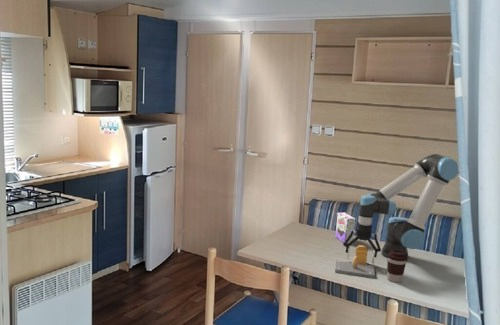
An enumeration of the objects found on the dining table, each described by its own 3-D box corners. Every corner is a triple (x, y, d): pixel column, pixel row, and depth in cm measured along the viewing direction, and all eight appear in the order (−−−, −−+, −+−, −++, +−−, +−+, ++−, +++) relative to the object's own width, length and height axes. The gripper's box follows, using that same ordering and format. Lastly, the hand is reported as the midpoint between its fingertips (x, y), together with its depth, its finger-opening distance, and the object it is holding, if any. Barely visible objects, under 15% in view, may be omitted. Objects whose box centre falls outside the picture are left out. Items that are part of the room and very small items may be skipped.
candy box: (334, 236, 314) (337, 212, 311) (342, 236, 315) (345, 212, 313) (344, 244, 301) (347, 218, 298) (353, 243, 302) (356, 218, 300)
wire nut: (365, 262, 272) (368, 245, 270) (366, 266, 266) (368, 249, 264) (354, 260, 273) (356, 244, 271) (354, 264, 267) (356, 247, 265)
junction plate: (373, 268, 263) (375, 255, 262) (374, 278, 250) (376, 264, 248) (336, 263, 267) (337, 249, 266) (334, 272, 254) (336, 258, 252)
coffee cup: (389, 274, 256) (392, 247, 254) (407, 280, 250) (411, 252, 248) (381, 279, 249) (384, 251, 246) (399, 285, 243) (403, 257, 240)
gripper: (388, 225, 267) (382, 261, 270) (342, 218, 272) (337, 254, 275) (389, 228, 260) (383, 266, 263) (341, 222, 264) (337, 259, 268)
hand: (360, 260), depth 269 cm, fingers open, 13 cm apart
